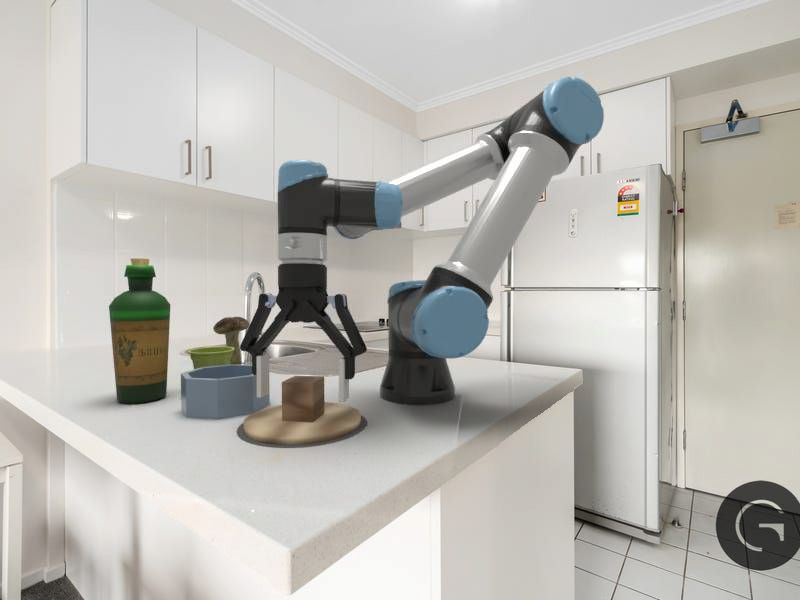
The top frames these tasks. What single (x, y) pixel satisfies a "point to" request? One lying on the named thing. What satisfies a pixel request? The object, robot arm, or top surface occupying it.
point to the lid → (302, 416)
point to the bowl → (220, 392)
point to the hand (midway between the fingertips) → (302, 397)
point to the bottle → (140, 337)
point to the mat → (243, 437)
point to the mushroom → (232, 334)
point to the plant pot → (211, 356)
